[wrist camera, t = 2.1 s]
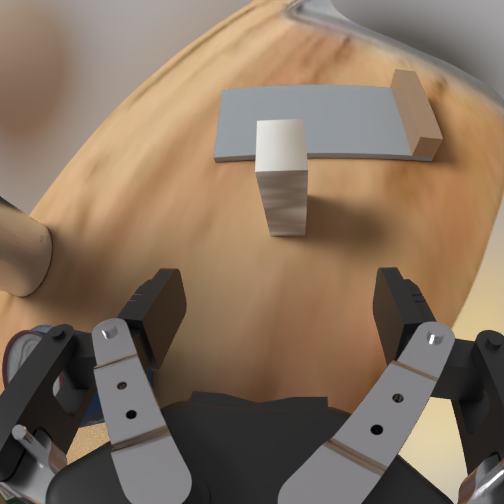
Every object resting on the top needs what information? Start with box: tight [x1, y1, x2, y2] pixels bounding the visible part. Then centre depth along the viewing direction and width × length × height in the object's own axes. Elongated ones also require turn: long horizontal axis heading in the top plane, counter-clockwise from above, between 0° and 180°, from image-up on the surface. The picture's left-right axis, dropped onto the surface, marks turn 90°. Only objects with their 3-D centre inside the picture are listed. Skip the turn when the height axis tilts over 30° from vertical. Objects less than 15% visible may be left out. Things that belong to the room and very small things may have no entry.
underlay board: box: [214, 69, 443, 162], centre depth 29 cm, size 22×10×4 cm, turn 88°
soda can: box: [2, 325, 153, 428], centre depth 19 cm, size 7×7×12 cm
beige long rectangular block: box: [255, 119, 308, 236], centre depth 23 cm, size 3×4×10 cm
